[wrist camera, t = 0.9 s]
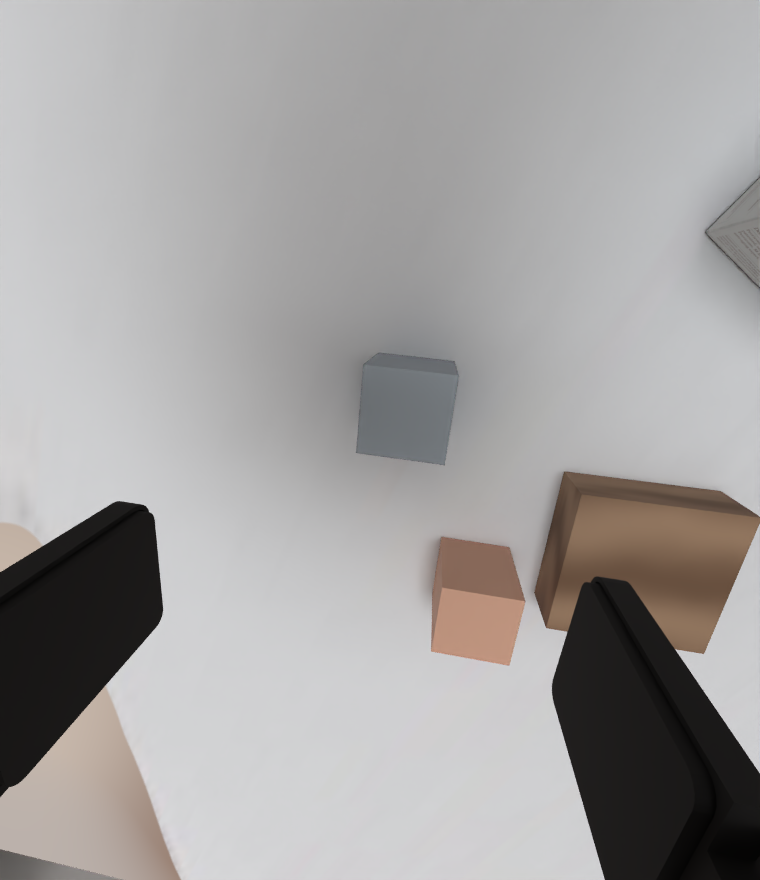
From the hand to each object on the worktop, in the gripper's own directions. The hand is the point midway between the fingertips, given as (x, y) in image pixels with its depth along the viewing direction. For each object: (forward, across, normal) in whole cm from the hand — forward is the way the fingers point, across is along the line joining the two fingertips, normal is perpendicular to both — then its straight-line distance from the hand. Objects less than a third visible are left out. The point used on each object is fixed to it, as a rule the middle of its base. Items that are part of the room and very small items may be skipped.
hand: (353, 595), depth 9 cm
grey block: (+20, 0, 0) cm, 20 cm away
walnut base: (+20, -16, +9) cm, 27 cm away
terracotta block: (+20, -6, +13) cm, 25 cm away
